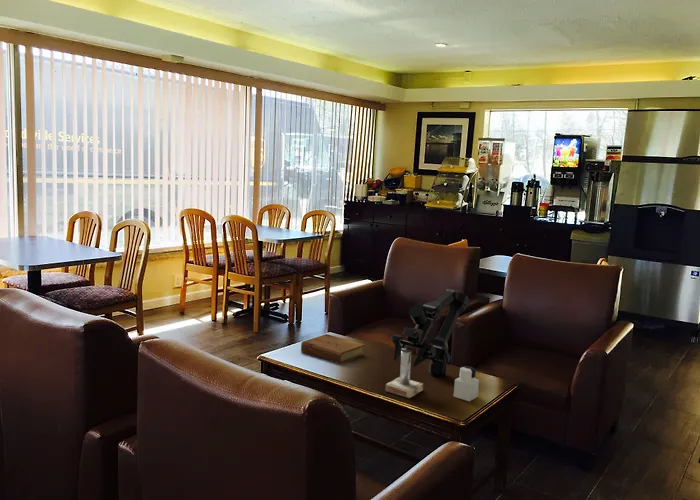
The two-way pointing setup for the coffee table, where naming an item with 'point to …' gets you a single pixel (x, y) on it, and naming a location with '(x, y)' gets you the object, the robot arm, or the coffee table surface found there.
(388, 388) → the cream napkin pack
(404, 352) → the steel flask
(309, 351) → the diary
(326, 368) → the coffee table surface
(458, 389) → the medicine bottle
